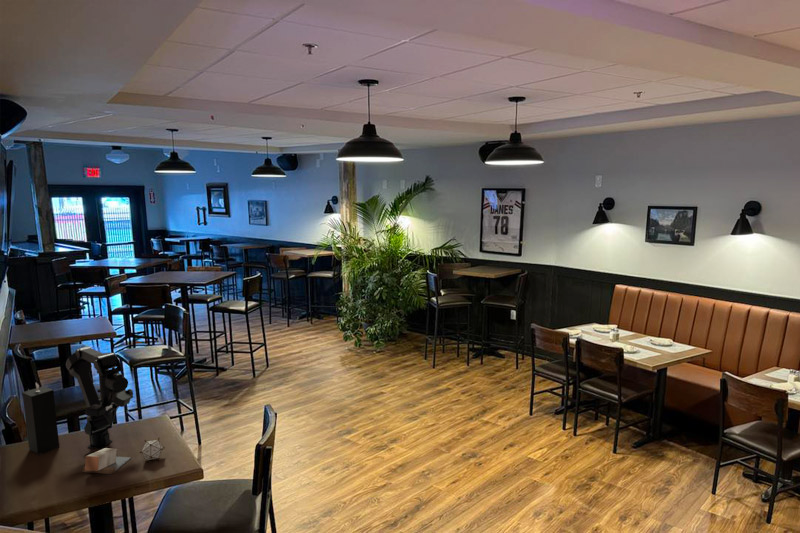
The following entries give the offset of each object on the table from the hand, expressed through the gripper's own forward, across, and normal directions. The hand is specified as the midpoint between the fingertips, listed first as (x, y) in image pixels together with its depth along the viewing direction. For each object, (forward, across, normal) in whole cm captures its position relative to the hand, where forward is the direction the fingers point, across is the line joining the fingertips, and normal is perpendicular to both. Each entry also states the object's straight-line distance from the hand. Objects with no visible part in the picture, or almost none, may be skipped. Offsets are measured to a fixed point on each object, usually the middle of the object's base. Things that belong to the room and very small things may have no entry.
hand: (111, 422), depth 199 cm
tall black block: (+13, -2, +30) cm, 33 cm away
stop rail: (+13, -13, -4) cm, 19 cm away
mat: (+13, -7, -4) cm, 15 cm away
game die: (+13, -2, -19) cm, 23 cm away
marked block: (+8, -16, -4) cm, 18 cm away
